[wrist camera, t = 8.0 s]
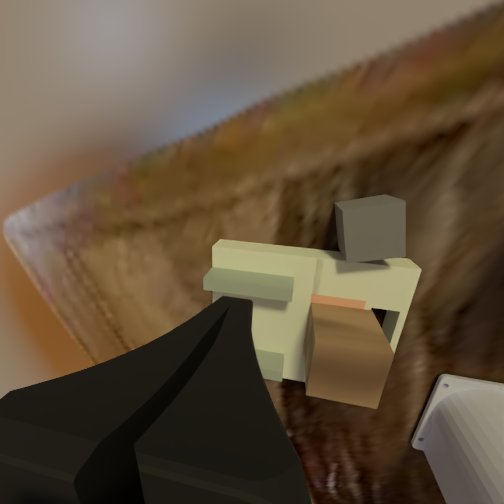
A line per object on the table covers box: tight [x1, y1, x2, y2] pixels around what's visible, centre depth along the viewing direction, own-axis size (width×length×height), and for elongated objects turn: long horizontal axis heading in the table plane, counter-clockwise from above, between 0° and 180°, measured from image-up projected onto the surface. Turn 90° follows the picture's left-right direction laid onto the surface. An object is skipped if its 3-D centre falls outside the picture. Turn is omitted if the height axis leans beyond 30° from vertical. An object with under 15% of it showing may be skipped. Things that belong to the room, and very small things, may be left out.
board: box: [203, 239, 422, 382], centre depth 20 cm, size 12×15×4 cm
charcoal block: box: [334, 194, 406, 263], centre depth 16 cm, size 4×4×4 cm
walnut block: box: [304, 302, 394, 409], centre depth 17 cm, size 4×4×4 cm
